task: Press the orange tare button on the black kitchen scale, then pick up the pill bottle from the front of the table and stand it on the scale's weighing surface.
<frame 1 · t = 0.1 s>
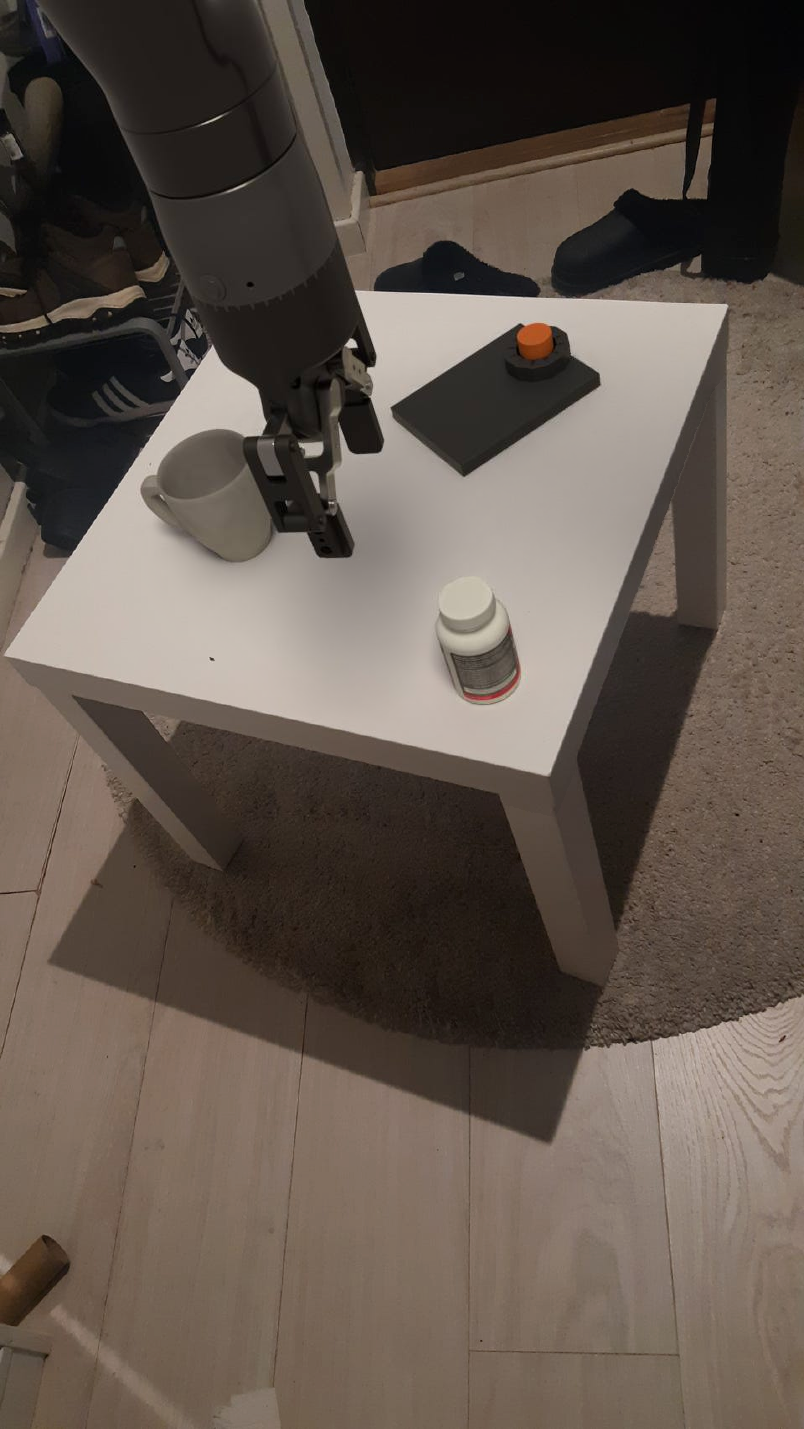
hand: (353, 499, 59), 22 cm above the table, tool pointing down, fingers open, 8 cm apart
mug: (229, 542, 93), on the table
scale: (494, 402, 94), on the table
pill bottle: (488, 679, 77), on the table
tare button: (535, 341, 92), point 4 cm above the table, slide at 0.1 cm
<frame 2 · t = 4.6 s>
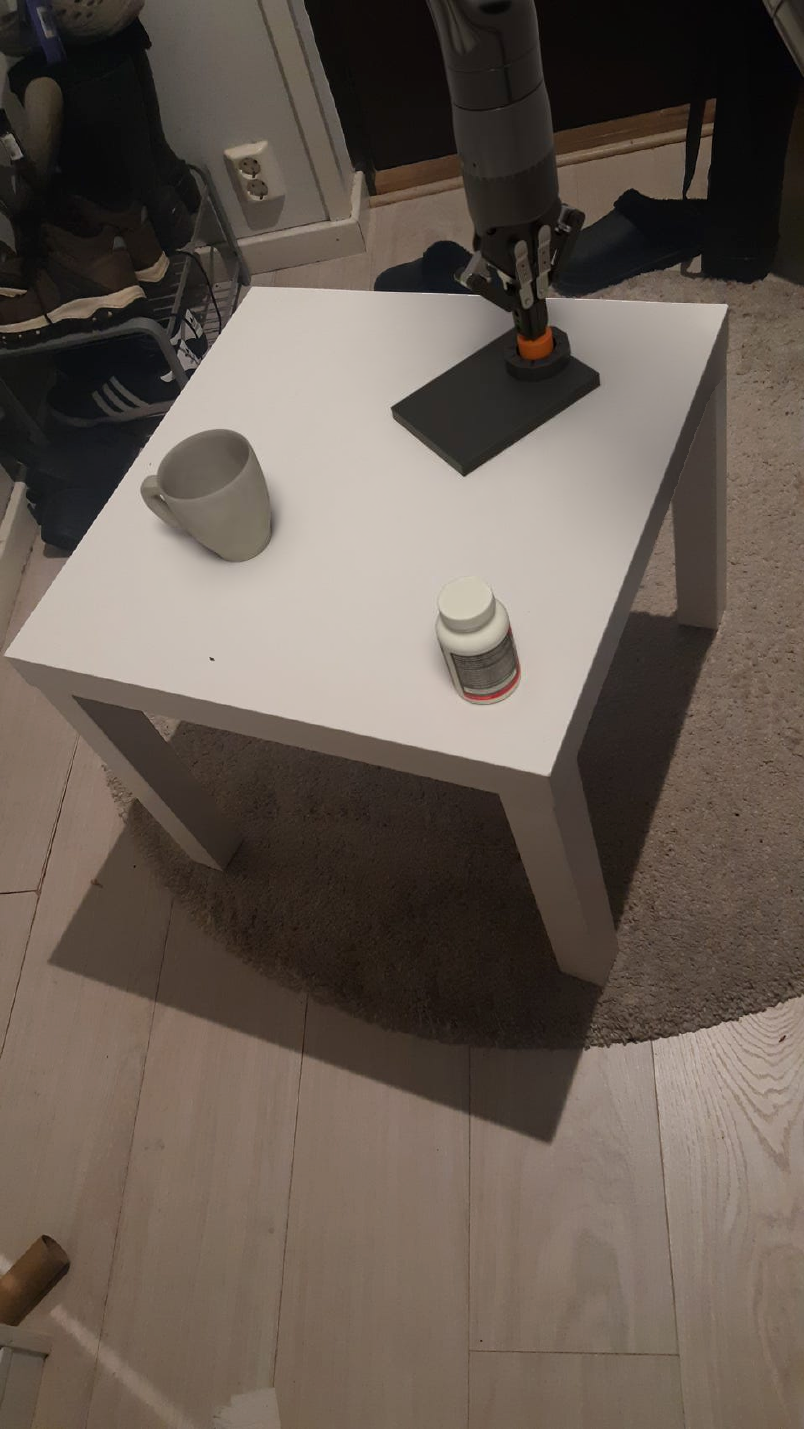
hand: (533, 333, 91), 4 cm above the table, tool pointing down, fingers closed
tare button: (535, 342, 92), point 3 cm above the table, slide at 0.1 cm, touching gripper
everything else where it was.
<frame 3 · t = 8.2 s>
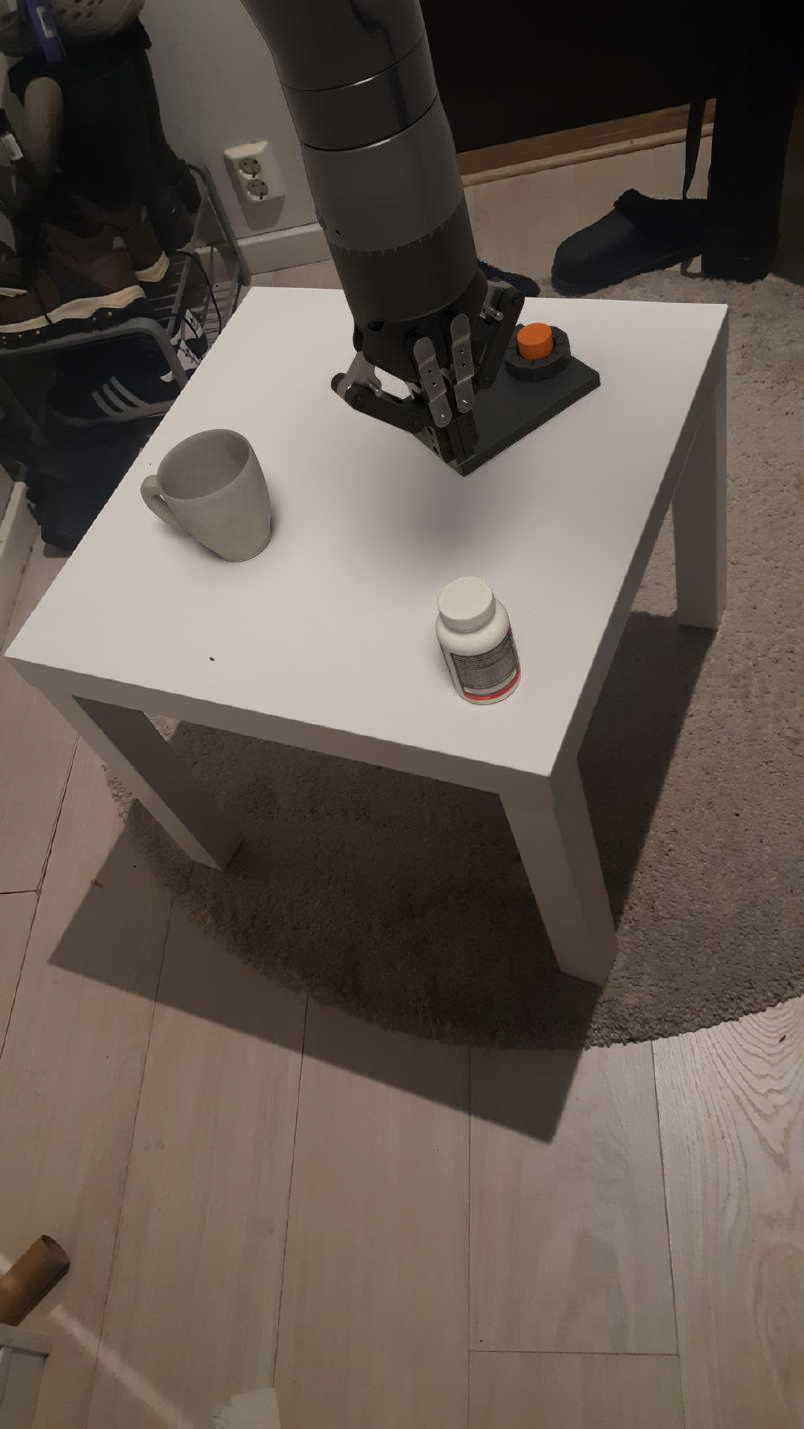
hand: (458, 455, 65), 18 cm above the table, tool pointing down, fingers closed
tare button: (535, 341, 92), point 4 cm above the table, slide at 0.1 cm
everything else where it was.
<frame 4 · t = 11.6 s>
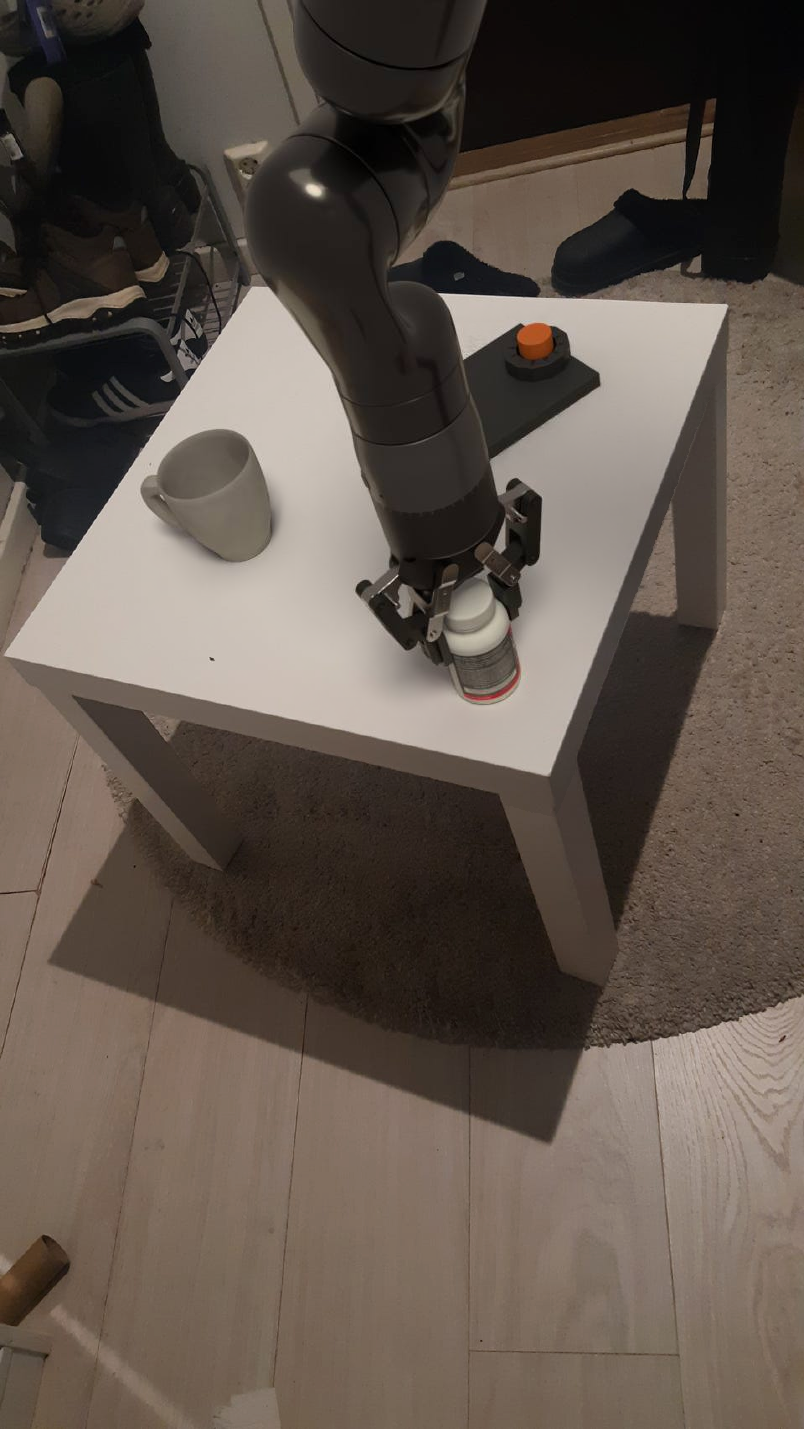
hand: (475, 634, 72), 5 cm above the table, tool pointing down, fingers closed on pill bottle, 5 cm apart
pill bottle: (488, 679, 77), on the table, touching gripper
everything else where it was.
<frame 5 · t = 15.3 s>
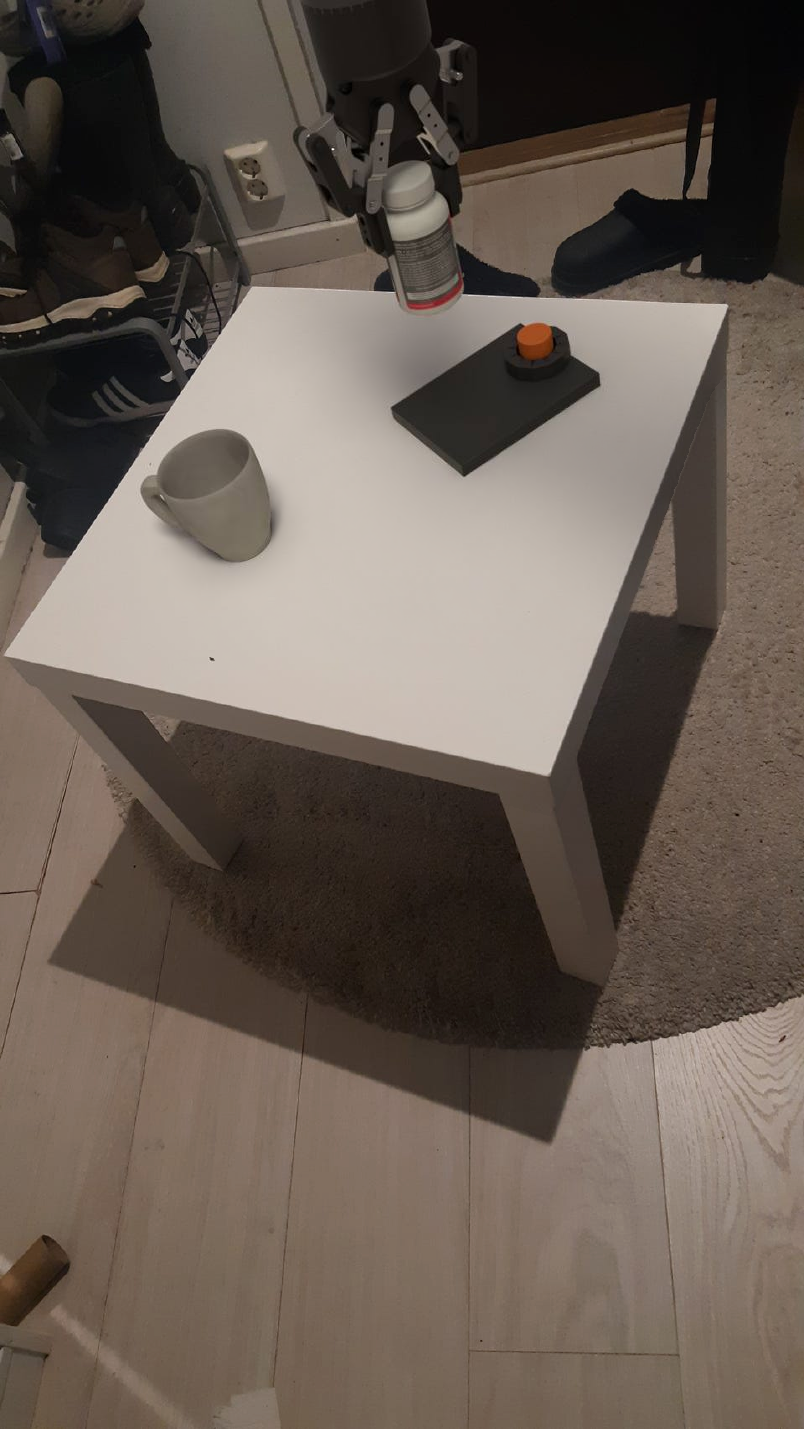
hand: (417, 232, 73), 22 cm above the table, tool pointing down, fingers closed on pill bottle, 5 cm apart
pill bottle: (432, 299, 78), point 16 cm above the table, touching gripper
everything else where it was.
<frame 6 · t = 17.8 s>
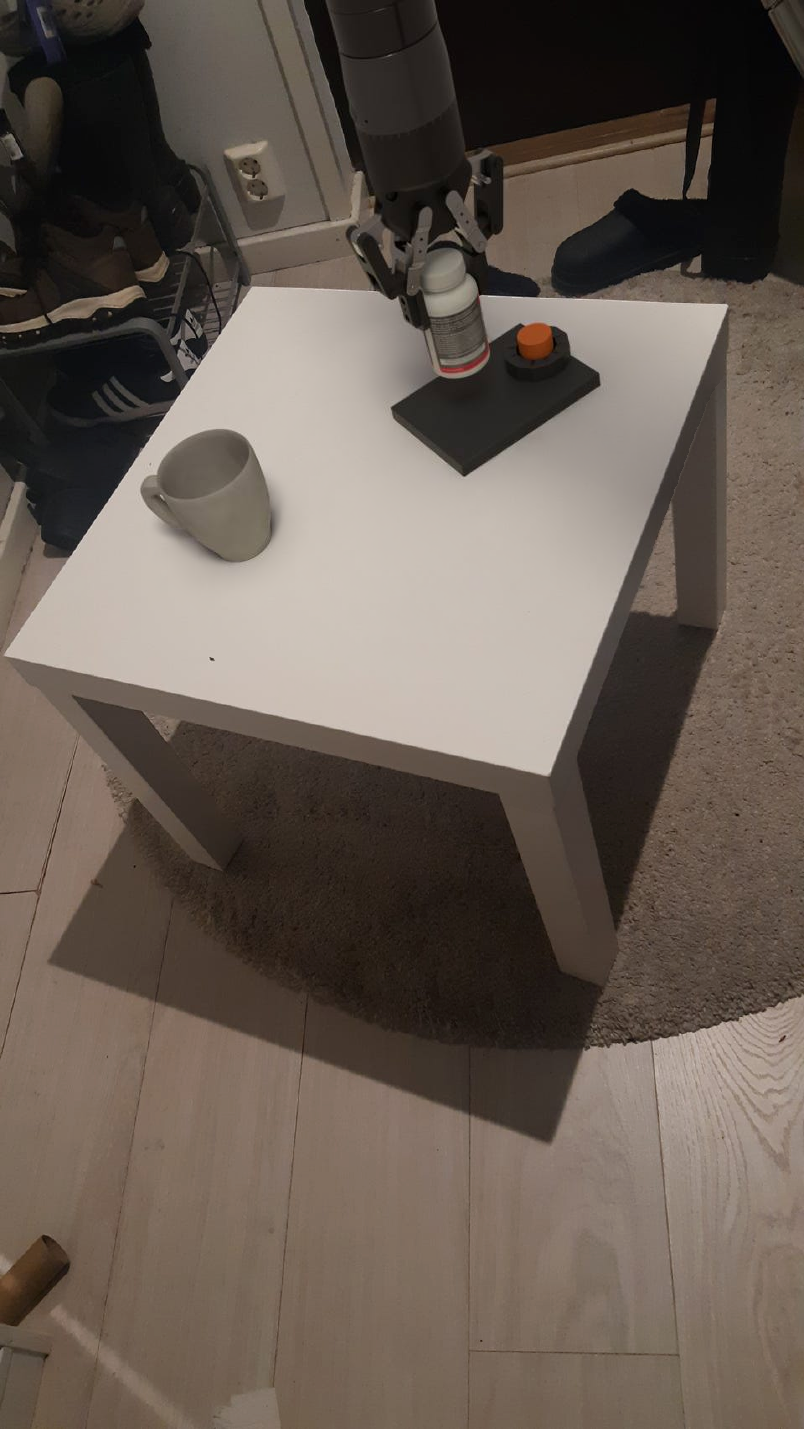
hand: (449, 307, 84), 12 cm above the table, tool pointing down, fingers closed on pill bottle, 5 cm apart
pill bottle: (461, 362, 89), point 6 cm above the table, touching gripper
everything else where it was.
when the fingers open (7 cm above the table, at t = 19.4 s): pill bottle stays where it is, resting on scale.
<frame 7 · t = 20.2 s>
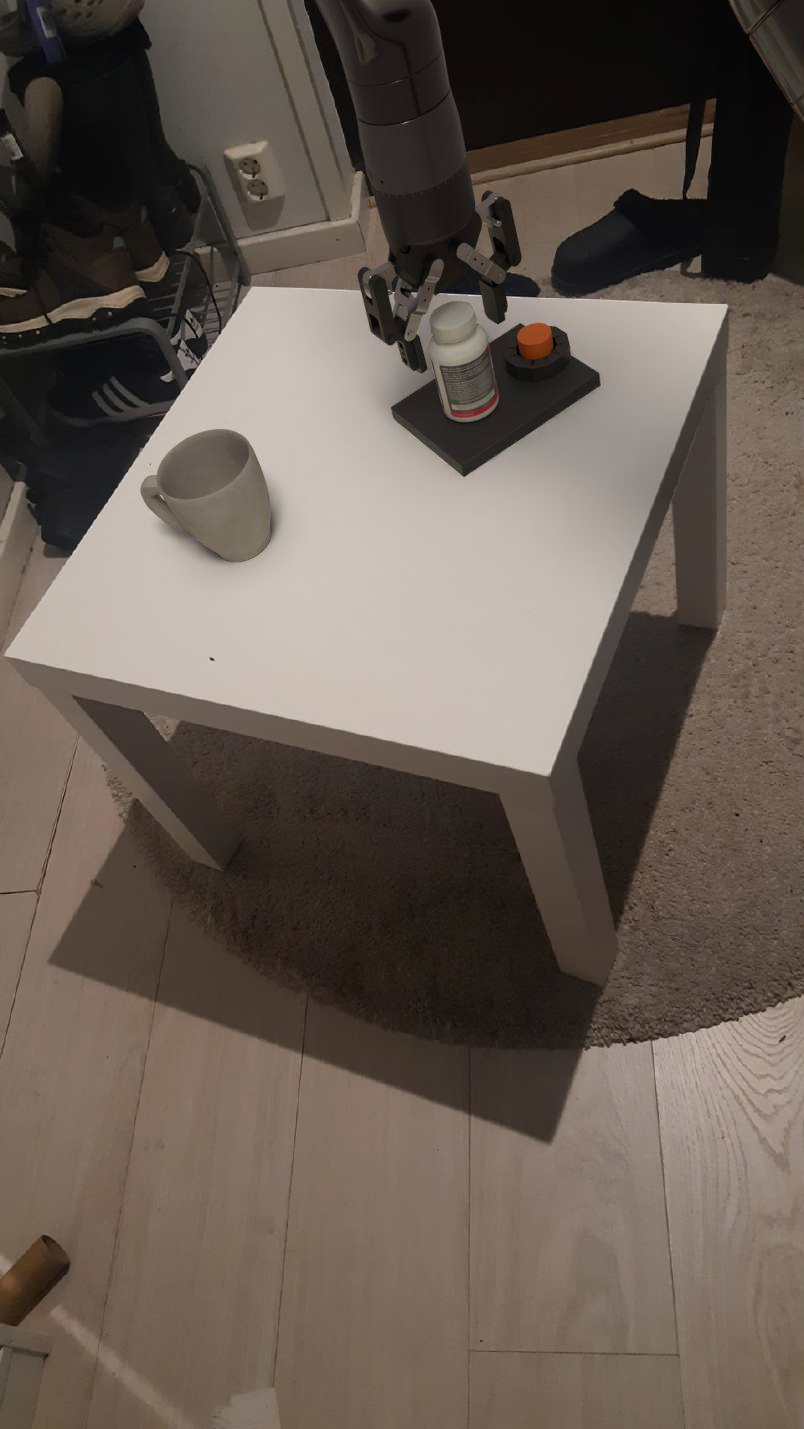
hand: (457, 343, 87), 8 cm above the table, tool pointing down, fingers open, 8 cm apart
pill bottle: (471, 406, 93), point 1 cm above the table, touching scale
everything else where it was.
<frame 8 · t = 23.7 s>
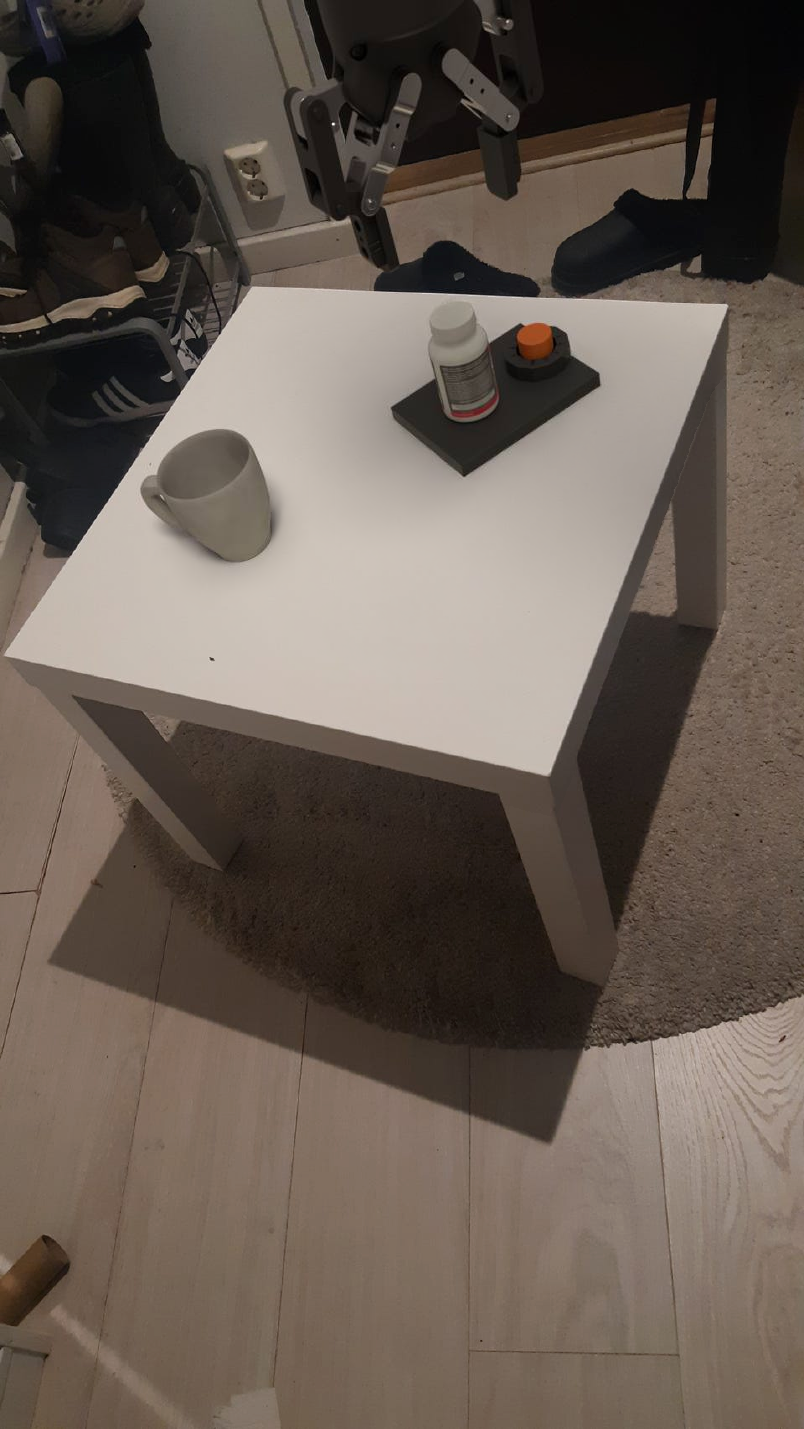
hand: (445, 230, 58), 30 cm above the table, tool pointing down, fingers open, 8 cm apart
nothing on the table moved.
at the end: tare button pushed in 0.9 cm at the most during the clip, back to where it started at the end; pill bottle inside the target area on the scale (2.5 cm from its centre), point 1.2 cm above the scale's base; pill bottle tilted 0° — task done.
